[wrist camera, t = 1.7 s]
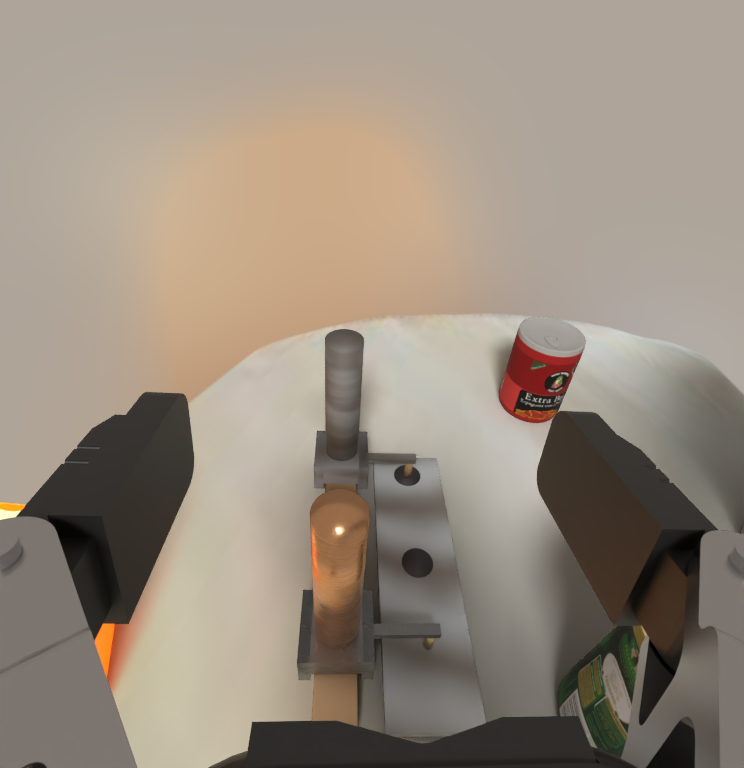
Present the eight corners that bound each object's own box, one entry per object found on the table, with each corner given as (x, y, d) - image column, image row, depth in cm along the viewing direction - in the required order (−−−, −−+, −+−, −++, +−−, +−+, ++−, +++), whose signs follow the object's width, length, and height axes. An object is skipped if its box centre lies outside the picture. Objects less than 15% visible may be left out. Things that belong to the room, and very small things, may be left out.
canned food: (512, 427, 57) (537, 354, 50) (488, 386, 63) (508, 316, 56) (568, 422, 58) (600, 350, 52) (540, 383, 65) (565, 314, 58)
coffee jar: (666, 675, 36) (826, 538, 24) (722, 812, 30) (973, 716, 18) (542, 666, 36) (643, 525, 24) (572, 802, 30) (727, 698, 18)
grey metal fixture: (317, 461, 51) (314, 322, 40) (435, 463, 52) (464, 327, 41) (295, 739, 31) (277, 617, 20) (485, 735, 32) (566, 616, 21)
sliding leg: (304, 611, 37) (295, 476, 27) (431, 611, 37) (470, 478, 27) (299, 682, 33) (285, 555, 23) (440, 680, 34) (489, 556, 23)
